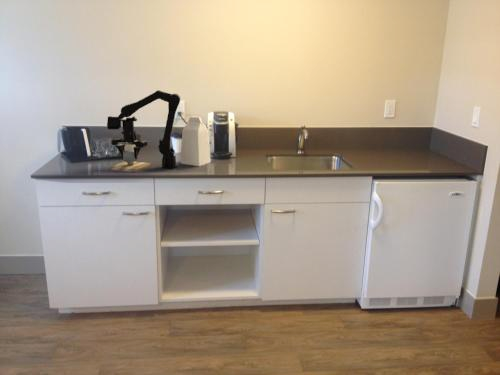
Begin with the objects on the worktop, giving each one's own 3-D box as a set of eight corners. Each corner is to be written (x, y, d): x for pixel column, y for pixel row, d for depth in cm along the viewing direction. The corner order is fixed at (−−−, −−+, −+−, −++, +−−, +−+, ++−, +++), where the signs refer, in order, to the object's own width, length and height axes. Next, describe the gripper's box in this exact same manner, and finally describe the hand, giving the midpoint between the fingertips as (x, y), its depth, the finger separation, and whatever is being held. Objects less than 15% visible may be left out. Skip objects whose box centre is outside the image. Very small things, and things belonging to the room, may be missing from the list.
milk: (181, 163, 255) (180, 117, 247) (193, 159, 265) (192, 114, 257) (199, 166, 250) (198, 118, 242) (210, 162, 259) (210, 116, 252)
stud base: (150, 165, 249) (150, 159, 248) (136, 172, 235) (136, 165, 234) (125, 163, 253) (125, 156, 252) (109, 169, 239) (109, 162, 238)
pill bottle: (141, 156, 270) (140, 131, 266) (132, 159, 263) (131, 133, 259) (130, 155, 273) (129, 130, 269) (121, 158, 266) (120, 132, 262)
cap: (139, 159, 245) (138, 150, 244) (132, 162, 239) (131, 152, 237) (128, 158, 247) (127, 149, 246) (120, 161, 241) (120, 151, 239)
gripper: (151, 128, 243) (153, 156, 247) (121, 126, 248) (123, 154, 253) (141, 131, 233) (142, 161, 237) (109, 129, 238) (111, 158, 242)
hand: (130, 158), depth 243 cm, fingers closed on cap, 7 cm apart
